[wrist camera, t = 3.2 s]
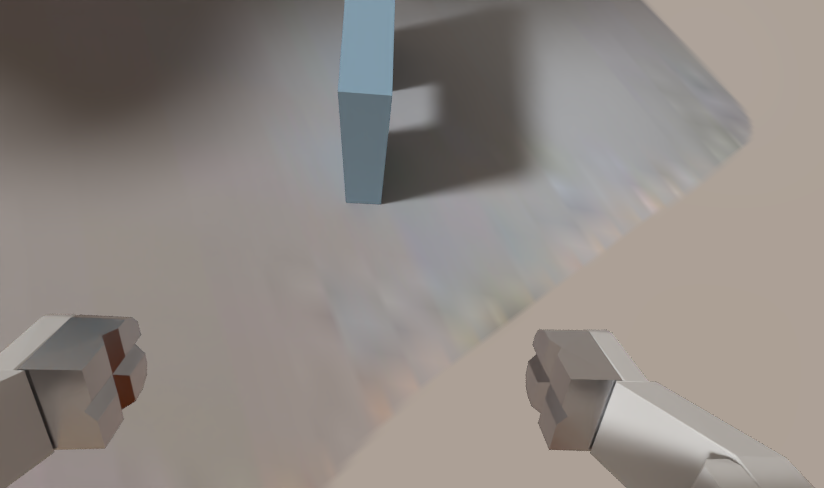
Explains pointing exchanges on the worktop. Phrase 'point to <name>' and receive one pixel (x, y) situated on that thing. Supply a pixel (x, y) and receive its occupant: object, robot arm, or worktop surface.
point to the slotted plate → (365, 95)
